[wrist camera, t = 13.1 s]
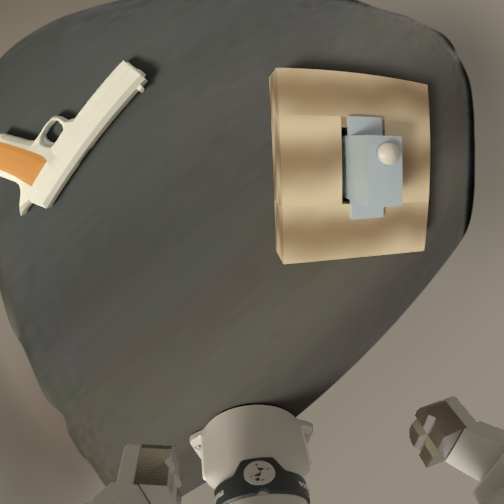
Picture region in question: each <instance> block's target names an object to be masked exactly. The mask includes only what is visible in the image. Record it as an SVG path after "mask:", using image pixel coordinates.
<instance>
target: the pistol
mask: <svg viewBox="0 0 504 504" xmlns="http://www.w3.org/2000/svg"><path fill="white" fill-rule="evenodd" d="M145 76H146V74H145V73H143V72H142V71H141V70H140V69H136V68H135V67H134V66H132V65H131V64H130V63H129V62H124V61H122V62H121V63H120V64H119V65H118V66H117V67H116V68H115V70H114V71H113V72H112V73H111V74H110V75H109V76H108V78H107V79H106V80H105V81H104V82H103V83H102V85H101V86H100V87H99V88H98V89H97V91H96V92H95V93H94V94H93V95H92V97H91V98H90V99H89V100H88V102H87V103H86V104H85V106H84V107H83V108H82V110H81V111H80V112H79V113H78V115H77V116H76V117H75V118H73V119H70V120H68V119H66V118H64V117H62V116H53V117H52V118H51V119H50V120H49V121H48V122H47V123H46V124H45V126H44V128H43V129H42V131H41V133H40V134H39V136H38V137H37V138H36V140H27V139H24V138H20V137H17V136H13V135H9V134H6V133H2V134H0V176H1V177H4V178H7V179H9V180H12V181H15V182H16V183H17V184H19V186H20V191H21V195H20V205H19V207H20V214H21V216H22V215H24V214H26V213H27V211H28V209H29V207H30V206H31V205H32V204H33V203H34V204H36V205H39V206H42V207H44V208H49V207H52V205H53V203H54V202H55V200H56V199H57V197H58V195H59V194H60V192H61V191H62V189H63V188H64V186H65V185H66V183H67V182H68V180H69V179H70V177H71V176H72V174H73V173H74V171H75V170H76V169H77V167H78V166H79V164H80V162H81V161H82V160H83V158H84V157H85V155H86V154H87V153H88V151H89V150H90V149H91V148H92V147H93V145H94V144H95V143H96V141H97V140H98V139H99V138H100V136H101V135H102V134H103V132H104V131H105V130H106V129H107V127H108V126H109V125H110V124H111V122H112V121H113V120H114V119H115V118H116V116H117V115H118V114H119V113H120V112H121V111H122V109H123V108H124V107H125V106H126V105H127V104H128V102H129V101H130V100H131V99H132V98H133V97H134V96H135V95H136V94H137V92H138V91H140V92H143V91H144V90H145V89H144V87H143V86H144V85H145V84H146V83H147V82H148V81H147V80H146V79H145V78H144V77H145ZM56 121H59V122H60V123H61V124H62V126H63V132H62V133H61V135H60V136H59V138H58V139H57V141H56V142H55V143H54V142H51V141H50V140H49V139H48V138H47V133H48V132H49V130H50V128H51V127H52V126H53V124H54V123H55V122H56Z"/></svg>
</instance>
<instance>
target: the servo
mask: <svg viewBox="0 0 504 504" xmlns="http://www.w3.org/2000/svg"><path fill="white" fill-rule="evenodd" d="M346 118H347V128H343V136H342V197H345V198H347V199H349V200H350V219H352V220H355V219H368V218H380V217H383V212H384V207H391V206H402V136H383V133H382V118H380V117H361V116H346Z"/></svg>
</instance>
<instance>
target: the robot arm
mask: <svg viewBox="0 0 504 504" xmlns="http://www.w3.org/2000/svg"><path fill="white" fill-rule="evenodd" d="M415 416H416V418H417V419H416V420H415V421H414V422H413V423H412V425H411V428H410V439H411V442H412V444H413V446H414V447H416V448H418V449H420V454H419V456H420V458H421V459H422V461H423V463H424V464H425V466H426V467H430V466H432V465H435V464H437V463H440V462H442V461H445V460H446V462H447V463H449V464H451V465H452V466H454V467H455V468H457V469H459V470H461V471H462V472H464V473H466V474H468V475H469V476H471V477H473V478H475V479H476V480H478V481H480V483H479V485H478V486H477V487H476V488H475V489H474V492H473V494H474V496H475V498H476V499H477V501H478V504H504V430H502V429H499V428H497V427H494V426H491V425H489V424H486V423H483V422H476V421H475V419H474V418H473V417H472V416H471V415H470V413H469V412H468V411H467V410H466V408H465V407H464V406H463V405H462V404H461V403H460V401H459V400H458V399H457V398H456V397H450V398H447V399H445V400H442V401H439V402H436V403H433V404H430V405H427V406H425V407H422V408H420V409H419V410H417V412H416V415H415ZM312 432H313V425H312V424H311V423H309V422H306V421H303V420H299V419H297V418H296V417H294V416H293V415H292V414H291V413H289V412H288V411H286V410H284V409H281V408H278V407H275V406H269V405H247V406H241V407H237V408H233V409H230V410H227V411H225V412H223V413H221V414H219V415H217V416H216V417H214V418H213V419H212V420H211V421H210V422H209V423H208V424H207V426H206V427H205V428H204V429H203V430H201V431H198V432H196V433H194V434H193V435H191V436H190V443H191V445H192V447H193V448H194V450H195V451H196V452H197V454H198V455H199V457H200V458H201V460H202V474H203V479H204V480H205V481H207V483H208V484H209V485H210V486H211V487H212V488H213V489H215V491H214V494H215V498H214V504H310V498H309V490H308V487H307V485H306V482H305V478H306V475H307V474H308V472H309V471H310V469H311V468H312V464H311V459H310V455H309V451H308V446H307V443H308V441H309V439H310V437H311V435H312ZM181 485H182V469H181V464H180V461H179V459H177V458H176V450H175V448H174V446H163V445H147V444H133V443H127V444H126V446H125V447H124V451H123V455H122V460H121V464H120V468H119V472H118V477H117V481H116V482H111V483H110V484H109V485H108V486H107V487H106V488H104V489H103V490H102V491H101V492H100V493H99V494H97V495H96V496H95V497H94V498H93V499H91V500H90V501H89V502H88V503H87V504H181V494H180V491H179V489H178V488H179V487H180V486H181Z"/></svg>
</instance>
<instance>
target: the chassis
mask: <svg viewBox="0 0 504 504" xmlns="http://www.w3.org/2000/svg"><path fill="white" fill-rule="evenodd" d="M269 86H270V104H271V125H272V147H273V171H274V199H275V231H276V252H277V253H278V255H279V257H280V259H281V260H282V262H283V264H291V263H302V262H313V261H324V260H335V259H346V258H356V257H367V256H377V255H387V254H397V253H407V252H417V251H424V247H425V238H426V228H427V217H428V204H429V185H430V116H429V98H428V85H426V84H422V83H417V82H412V81H406V80H401V79H395V78H389V77H383V76H376V75H369V74H361V73H352V72H343V71H332V70H318V69H300V68H276V69H275V70H274V71H273V73H272V74H271V75H270V77H269ZM346 116H361V117H380V118H382V133H383V136H402V206H391V207H384V212H383V217H380V218H368V219H355V220H352V219H350V200H349V199H347V198H345V197H342V135H341V129H342V128H347V118H346Z"/></svg>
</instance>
